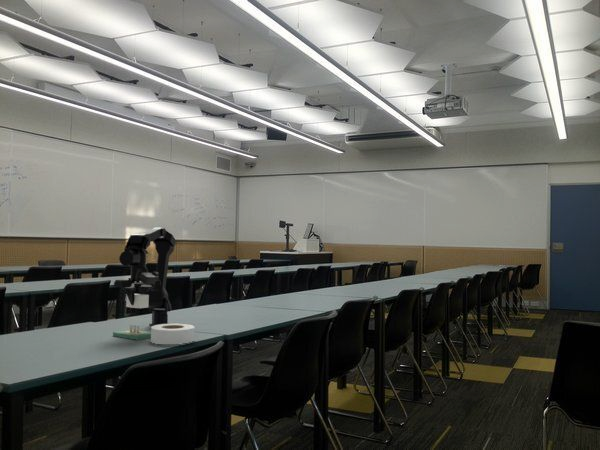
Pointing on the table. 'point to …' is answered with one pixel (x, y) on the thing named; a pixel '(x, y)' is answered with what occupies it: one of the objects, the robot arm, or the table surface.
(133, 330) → the header board
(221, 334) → the table surface
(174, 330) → the roll of tape
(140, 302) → the block
